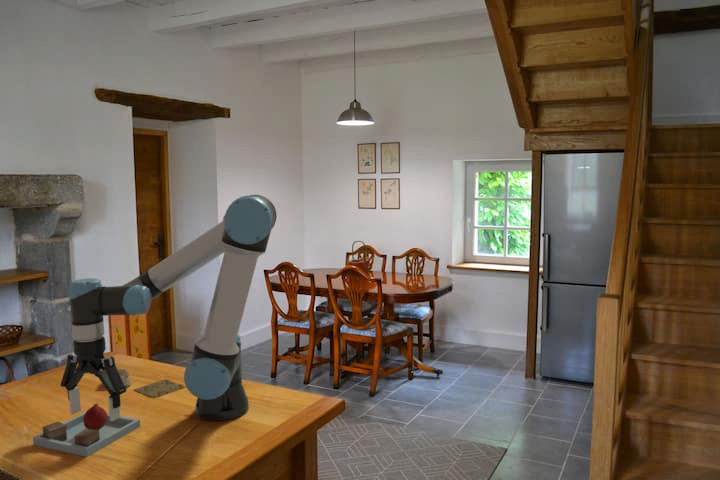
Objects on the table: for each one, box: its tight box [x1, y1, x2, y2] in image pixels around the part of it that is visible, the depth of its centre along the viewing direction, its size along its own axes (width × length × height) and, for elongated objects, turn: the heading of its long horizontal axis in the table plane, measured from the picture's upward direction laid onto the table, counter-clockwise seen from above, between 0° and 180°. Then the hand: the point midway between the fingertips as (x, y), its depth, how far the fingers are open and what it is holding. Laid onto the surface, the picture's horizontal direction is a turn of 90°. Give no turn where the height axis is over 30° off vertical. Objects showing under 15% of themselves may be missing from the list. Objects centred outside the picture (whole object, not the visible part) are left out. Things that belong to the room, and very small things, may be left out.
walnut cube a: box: [74, 429, 100, 447], centre depth 143 cm, size 4×4×4 cm
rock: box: [117, 368, 131, 388], centre depth 188 cm, size 9×6×10 cm
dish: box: [32, 411, 141, 458], centre depth 150 cm, size 18×18×2 cm
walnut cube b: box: [42, 421, 67, 442], centre depth 147 cm, size 4×4×4 cm
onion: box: [83, 402, 108, 430], centre depth 151 cm, size 6×6×8 cm
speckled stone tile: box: [132, 379, 187, 399], centre depth 185 cm, size 12×12×1 cm
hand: (95, 415), depth 152 cm, fingers open, 13 cm apart
